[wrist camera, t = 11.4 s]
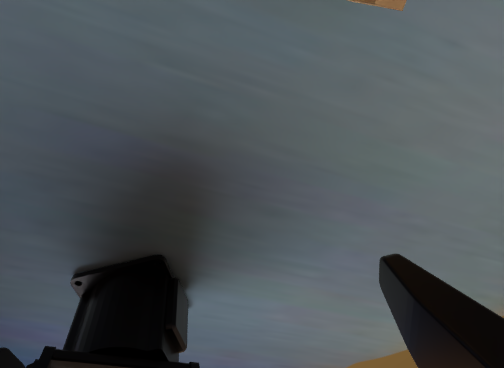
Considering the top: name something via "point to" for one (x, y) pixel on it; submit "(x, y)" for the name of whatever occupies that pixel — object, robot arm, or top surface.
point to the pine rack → (384, 3)
